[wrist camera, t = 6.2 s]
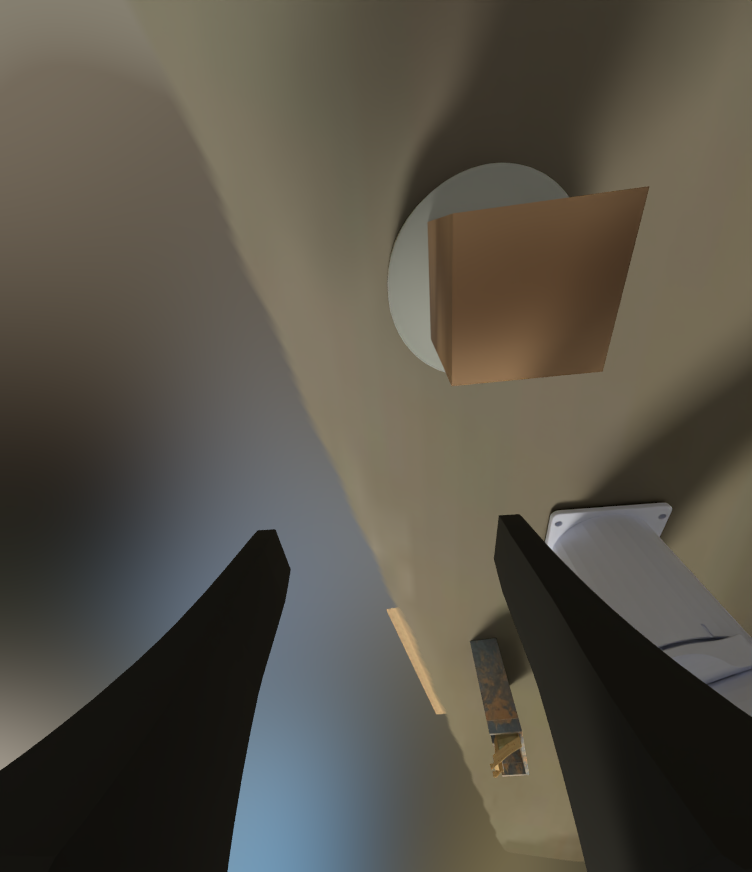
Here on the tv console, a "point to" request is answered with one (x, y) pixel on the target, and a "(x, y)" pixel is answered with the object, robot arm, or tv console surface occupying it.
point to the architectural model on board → (494, 698)
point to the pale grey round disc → (411, 244)
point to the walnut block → (530, 285)
